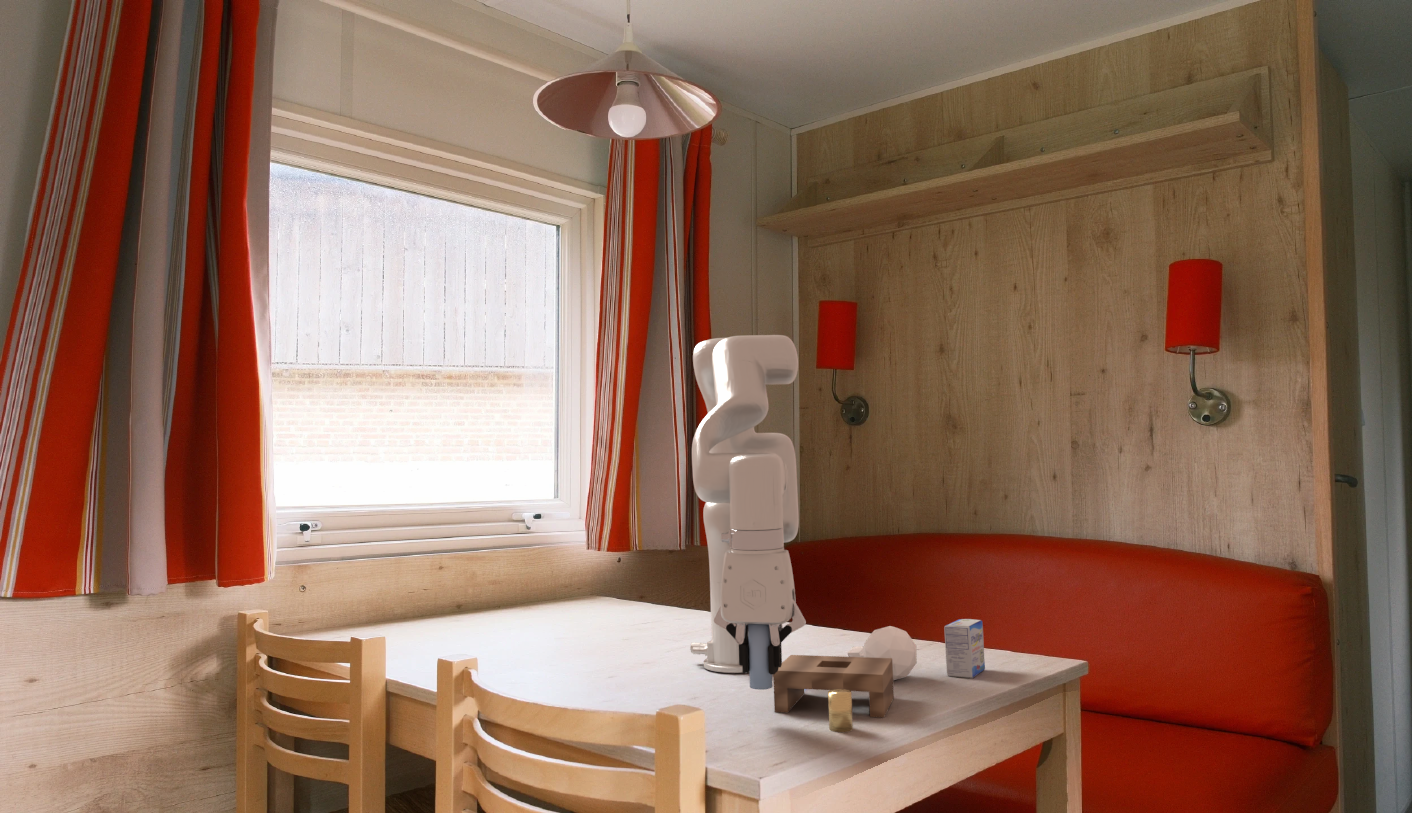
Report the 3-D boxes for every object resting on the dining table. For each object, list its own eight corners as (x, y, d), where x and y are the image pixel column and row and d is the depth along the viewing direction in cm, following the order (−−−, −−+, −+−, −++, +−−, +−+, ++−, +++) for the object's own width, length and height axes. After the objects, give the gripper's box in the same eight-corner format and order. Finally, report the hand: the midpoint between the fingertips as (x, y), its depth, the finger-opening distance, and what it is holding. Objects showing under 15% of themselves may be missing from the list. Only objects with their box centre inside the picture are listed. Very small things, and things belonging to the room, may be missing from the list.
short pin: (827, 731, 127) (825, 693, 128) (831, 725, 130) (830, 688, 131) (850, 732, 126) (849, 694, 127) (854, 726, 129) (853, 689, 130)
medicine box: (972, 679, 156) (970, 626, 157) (946, 676, 159) (943, 624, 159) (985, 670, 163) (983, 619, 164) (960, 667, 165) (957, 618, 166)
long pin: (747, 688, 132) (745, 624, 132) (752, 683, 135) (751, 619, 135) (769, 690, 131) (767, 624, 131) (774, 684, 134) (773, 620, 134)
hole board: (774, 711, 138) (773, 670, 139) (792, 692, 150) (790, 654, 150) (884, 717, 133) (882, 674, 134) (893, 697, 145) (892, 658, 145)
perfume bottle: (932, 664, 159) (869, 666, 166) (916, 615, 158) (854, 618, 165) (913, 690, 152) (848, 691, 159) (896, 638, 151) (832, 641, 159)
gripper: (694, 543, 132) (697, 675, 132) (808, 544, 127) (812, 681, 127) (710, 538, 140) (713, 662, 139) (819, 538, 135) (823, 668, 134)
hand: (760, 670), depth 133 cm, fingers closed on long pin, 3 cm apart
